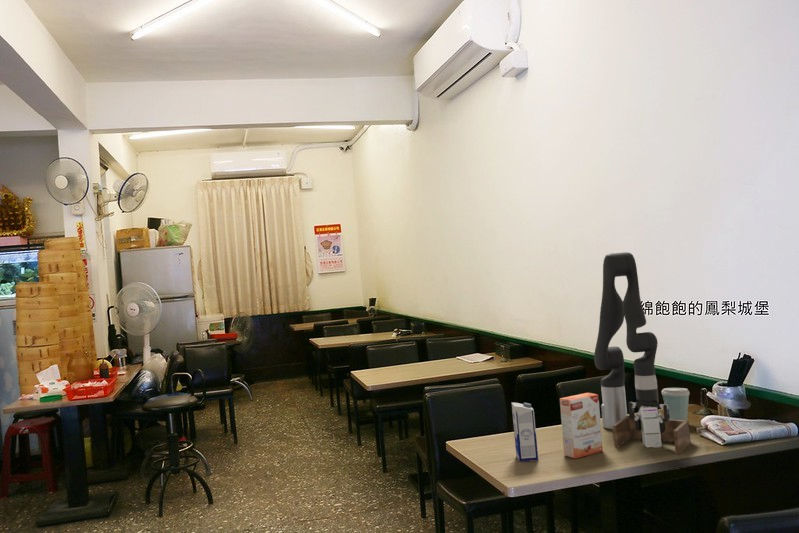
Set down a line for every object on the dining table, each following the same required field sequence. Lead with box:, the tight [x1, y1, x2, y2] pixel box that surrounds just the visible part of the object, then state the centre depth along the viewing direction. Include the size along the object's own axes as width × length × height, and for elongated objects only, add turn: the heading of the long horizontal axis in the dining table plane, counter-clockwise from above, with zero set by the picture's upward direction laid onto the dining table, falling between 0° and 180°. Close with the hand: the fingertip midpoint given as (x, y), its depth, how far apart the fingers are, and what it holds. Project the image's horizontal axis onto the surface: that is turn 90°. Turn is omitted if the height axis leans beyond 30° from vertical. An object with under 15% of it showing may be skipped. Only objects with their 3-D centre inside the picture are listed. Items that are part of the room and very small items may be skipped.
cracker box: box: [559, 392, 604, 460], centre depth 211 cm, size 14×6×21 cm, turn 117°
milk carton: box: [511, 402, 539, 462], centre depth 211 cm, size 7×7×20 cm
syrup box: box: [640, 406, 663, 448], centre depth 214 cm, size 6×6×14 cm
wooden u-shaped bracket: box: [612, 415, 691, 455], centre depth 214 cm, size 22×15×8 cm
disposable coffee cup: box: [661, 387, 691, 421], centre depth 238 cm, size 11×11×15 cm
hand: (650, 431), depth 214 cm, fingers closed on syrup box, 7 cm apart
